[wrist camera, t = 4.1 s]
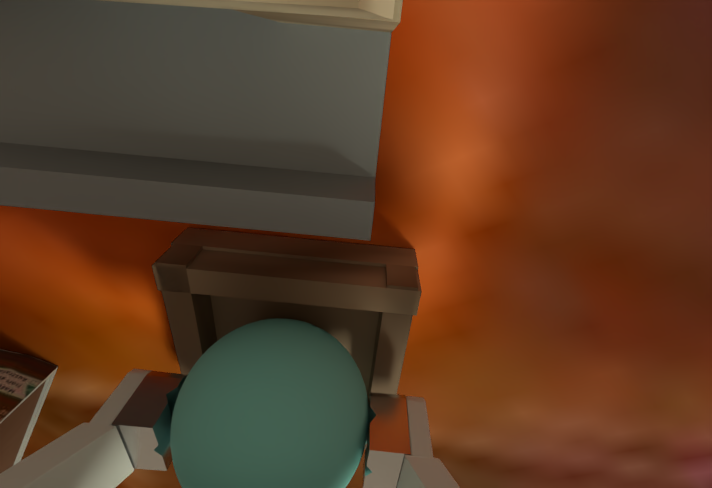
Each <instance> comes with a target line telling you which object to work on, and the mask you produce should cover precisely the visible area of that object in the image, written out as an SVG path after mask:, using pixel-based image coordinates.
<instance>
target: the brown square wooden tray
mask: <svg viewBox="0 0 712 488" xmlns="http://www.w3.org/2000/svg"><path fill="white" fill-rule="evenodd" d="M152 269H153V273H154V277H155V281H156V285H157V289H158V290H161V291H162V295H163V299H164V303H165V307H166V311H167V316H168V320H169V324H170V328H171V332H172V336H173V341H174V345H175V349H176V353H177V357H178V361H179V365H180V370H181V374H184V375H188V373H189V372H190V370H191V369H192V367H193V366H194V365H195V363H196V362H197V361H198V359H199V358H200V357H201V356H202V355H203V354H204V353H205V352H206V351H207V349H208V348H210V347H211V346H212V345H213V344H214V343H215V342H217V341H218V340H219V339H221V338H222V337H223V336H225V335H226V334H228V333H230V332H231V331H233V330H235V329H237V328H239V327H241V326H244V325H246V324H249V323H253V322H256V321H260V320H265V319H274V318H283V319H294V320H299V321H303V322H307V323H310V324H312V325H315V326H317V327H319V328H321V329H323V330H324V331H326V332H328V333H329V334H331V335H332V336H333V337H334V338H336V339H337V340H338V341H339V342H340V343H341V344H342V345H343V346H344V347H345V348H346V349H347V351H348V352H349V353H350V355H351V356H352V358H353V359H354V361H355V363H356V364H357V366H358V368H359V370H360V373H361V375H362V378H363V381H364V384H365V387H366V392H367V397H368V400H369V394H370V392H372V393H384V394H397V389H398V384H399V379H400V374H401V369H402V365H403V360H404V355H405V350H406V345H407V340H408V335H409V331H410V326H411V321H412V316H413V315H417V310H418V306H419V301H420V296H421V292H422V291H421V286H420V280H419V275H418V263H417V258H416V252H415V249H407V248H397V247H387V246H376V245H366V244H355V243H345V242H334V241H324V240H314V239H303V238H293V237H282V236H272V235H261V234H251V233H241V232H230V231H220V230H209V229H199V228H187V229H185V230H184V231H183V232H182V233H181V234H180V235H179V236H178V237H177V238H176V239H175V240H174V241H173V242H172V243H171V247H170V248H169V249H168V250H167V251H166V252H165V253H164V254H163V255H162V256H161V257H160V258H159V259H158V260H157V261H156V262H155V263H154V264H153V265H152Z"/></svg>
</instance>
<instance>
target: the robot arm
mask: <svg viewBox="0 0 712 488" xmlns="http://www.w3.org/2000/svg"><path fill="white" fill-rule="evenodd" d="M186 377H187V375H184V374H176V373H168V372H160V371H152V370H143V369H133V370H132V371H130V372H129V373H128V374H127V375H126V376H125V377H124V379H123V380H122V381H121V382H120V384H119V385H118V386H117V388H116V389H115V390H114V391H113V393H112V394H111V395H110V397H109V398H108V399H107V400H106V402H105V403H104V404H103V406H102V407H101V408H100V409H99V411H98V412H97V413H96V415H95V416H94V417H93V419H92V420H91V421H90V422H89V423H82V424H80V425H79V426H77V427H75V428H74V429H72V430H70V431H69V432H67V433H66V434H64V435H62V436H61V437H59V438H57V439H56V440H54V441H53V442H51V443H49V444H48V445H46V446H44V447H43V448H41V449H40V450H38V451H36V452H35V453H33V454H31V455H30V456H28V457H27V458H25V459H23V460H22V461H20V462H18V463H17V464H15V465H14V466H12V467H10V468H9V469H7V470H5V471H4V472H2V473H0V488H115V487H116V486H118V485H119V484H120V483H121V482H122V481H123V480H124V479H125V478H126V477H128V476H129V475H130V474H131V473H132V472H133V471H134V468H135V469H149V470H163V471H167V470H168V468H169V466H170V464H171V462H172V454H171V447H170V433H171V421H172V415H173V410H174V406H175V403H176V400H177V397H178V394H179V391H180V389H181V387H182V385H183V383H184V381H185V379H186ZM368 404H369V423H368V435H367V439H366V444H365V449H366V450H365V456H364V463H363V488H460V487H459V486H458V484H457V483H456V481H455V480H454V479H453V477H452V476H451V474H450V473H449V472H448V470H447V469H446V468H445V466H444V465H443V463H442V462H441V461H440V459H439V458H433V452H432V445H431V438H430V430H429V423H428V416H427V409H426V402H425V400H424V398H423V397H413V396H405V395H396V394H384V393H372V392H370V394H369V400H368Z"/></svg>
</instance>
